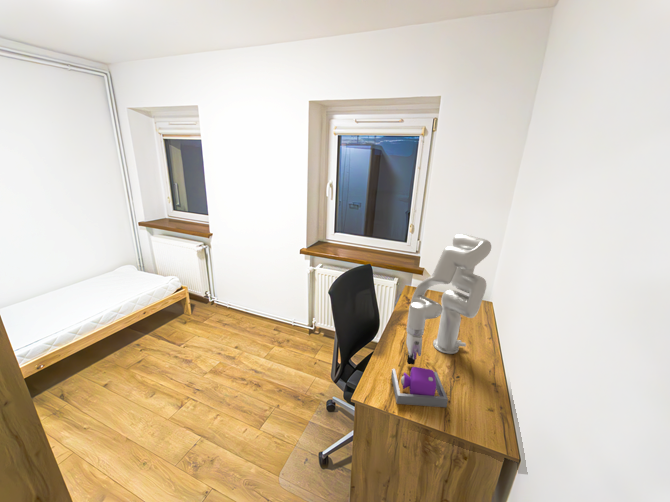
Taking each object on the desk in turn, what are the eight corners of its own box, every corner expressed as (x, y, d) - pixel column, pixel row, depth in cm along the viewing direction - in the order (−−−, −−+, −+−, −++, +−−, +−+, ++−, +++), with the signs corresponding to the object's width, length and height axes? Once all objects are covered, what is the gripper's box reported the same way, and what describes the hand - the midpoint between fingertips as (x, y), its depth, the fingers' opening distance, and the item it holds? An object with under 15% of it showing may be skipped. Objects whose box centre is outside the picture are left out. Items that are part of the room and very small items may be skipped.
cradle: (435, 379, 126) (436, 371, 125) (446, 407, 111) (448, 399, 110) (391, 376, 127) (392, 368, 125) (396, 403, 112) (397, 395, 111)
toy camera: (397, 382, 123) (400, 363, 120) (429, 383, 123) (432, 364, 120) (403, 402, 113) (406, 381, 110) (437, 403, 113) (441, 383, 110)
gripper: (428, 339, 121) (422, 374, 126) (419, 320, 135) (414, 353, 141) (410, 338, 121) (405, 374, 126) (403, 319, 135) (399, 352, 141)
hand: (410, 363), depth 133 cm, fingers closed
